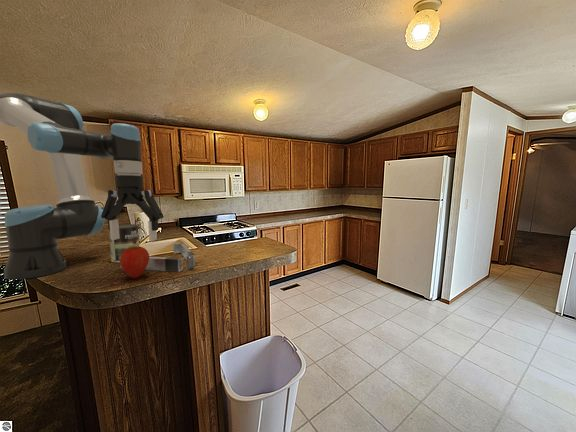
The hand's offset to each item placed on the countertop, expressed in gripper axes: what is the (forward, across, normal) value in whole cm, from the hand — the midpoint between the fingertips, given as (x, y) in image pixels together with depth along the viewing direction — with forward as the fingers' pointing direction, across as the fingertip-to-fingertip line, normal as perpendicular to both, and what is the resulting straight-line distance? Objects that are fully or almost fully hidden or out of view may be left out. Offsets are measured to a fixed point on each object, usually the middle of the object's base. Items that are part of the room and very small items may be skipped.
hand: (134, 239), depth 79 cm
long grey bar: (+13, +1, +9) cm, 16 cm away
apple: (+13, 0, 0) cm, 13 cm away
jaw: (+13, +4, +21) cm, 25 cm away
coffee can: (+13, -20, +18) cm, 30 cm away
